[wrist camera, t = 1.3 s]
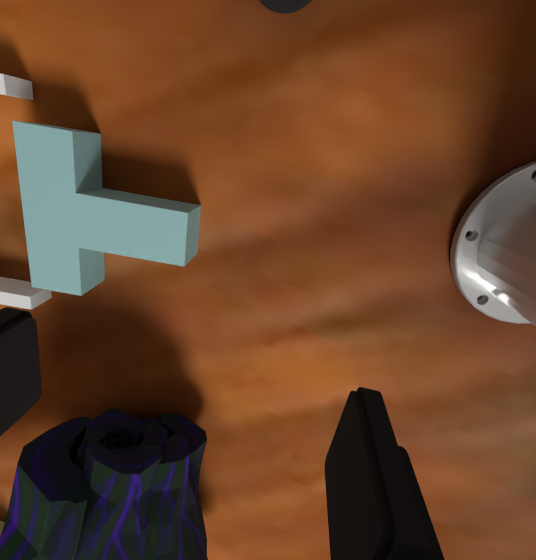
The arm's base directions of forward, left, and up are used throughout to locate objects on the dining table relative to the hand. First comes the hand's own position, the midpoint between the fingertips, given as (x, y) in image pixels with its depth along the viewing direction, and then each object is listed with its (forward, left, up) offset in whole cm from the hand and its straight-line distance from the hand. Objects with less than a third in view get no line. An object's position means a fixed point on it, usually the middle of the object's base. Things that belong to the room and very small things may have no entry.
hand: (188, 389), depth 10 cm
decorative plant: (+9, +31, -19) cm, 37 cm away
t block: (+11, 0, -19) cm, 21 cm away
